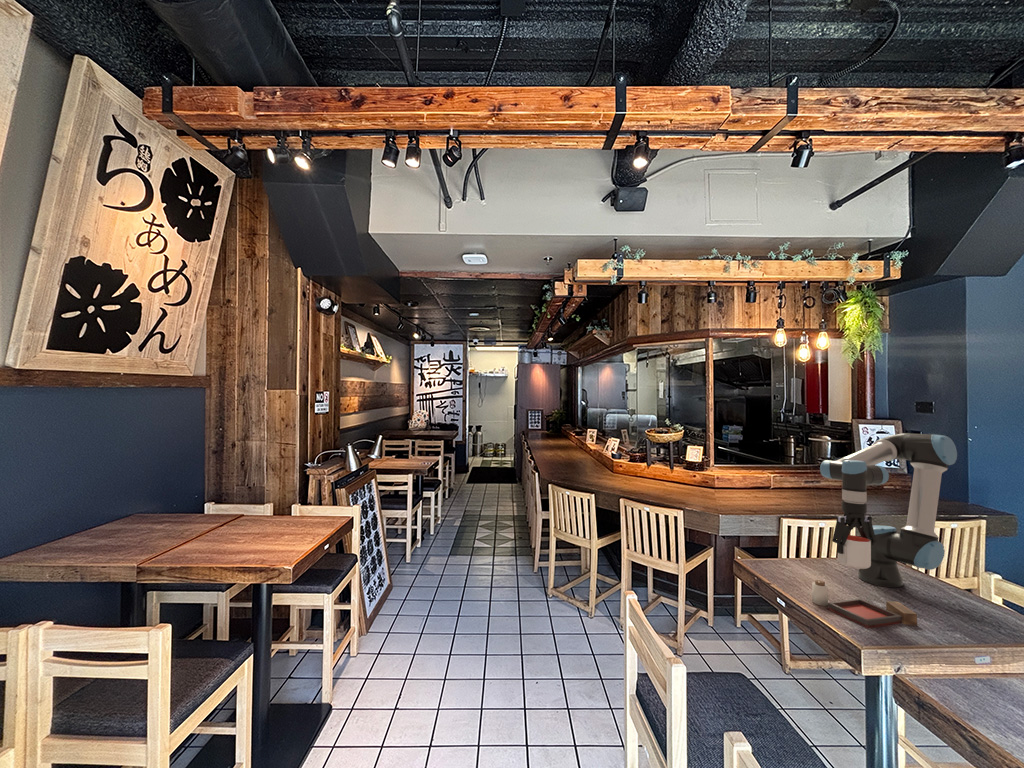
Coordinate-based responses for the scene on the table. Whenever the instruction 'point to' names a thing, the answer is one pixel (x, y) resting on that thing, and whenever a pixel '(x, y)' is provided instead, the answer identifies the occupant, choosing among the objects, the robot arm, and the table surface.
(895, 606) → the box
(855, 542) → the cup
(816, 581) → the ceramic jar
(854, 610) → the tray
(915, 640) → the table surface
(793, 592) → the table surface
